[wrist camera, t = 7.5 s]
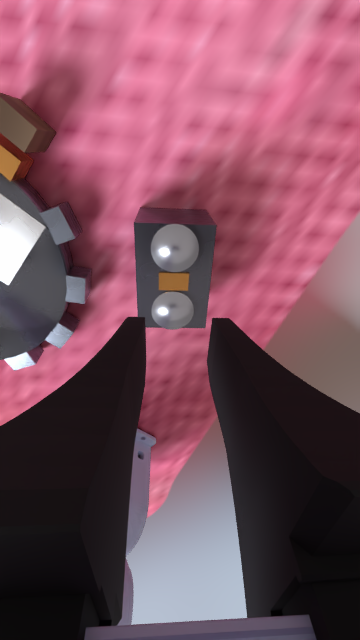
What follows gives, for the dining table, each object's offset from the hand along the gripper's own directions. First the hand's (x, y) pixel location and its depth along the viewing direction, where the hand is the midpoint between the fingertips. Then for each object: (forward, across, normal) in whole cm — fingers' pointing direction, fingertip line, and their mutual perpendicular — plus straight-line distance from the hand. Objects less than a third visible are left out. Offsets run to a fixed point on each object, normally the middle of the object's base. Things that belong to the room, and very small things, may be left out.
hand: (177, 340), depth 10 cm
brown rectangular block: (+9, +7, -7) cm, 14 cm away
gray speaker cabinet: (+9, 0, 0) cm, 9 cm away
